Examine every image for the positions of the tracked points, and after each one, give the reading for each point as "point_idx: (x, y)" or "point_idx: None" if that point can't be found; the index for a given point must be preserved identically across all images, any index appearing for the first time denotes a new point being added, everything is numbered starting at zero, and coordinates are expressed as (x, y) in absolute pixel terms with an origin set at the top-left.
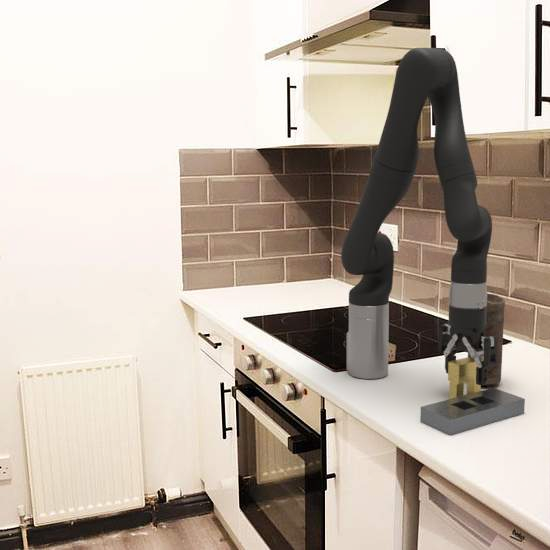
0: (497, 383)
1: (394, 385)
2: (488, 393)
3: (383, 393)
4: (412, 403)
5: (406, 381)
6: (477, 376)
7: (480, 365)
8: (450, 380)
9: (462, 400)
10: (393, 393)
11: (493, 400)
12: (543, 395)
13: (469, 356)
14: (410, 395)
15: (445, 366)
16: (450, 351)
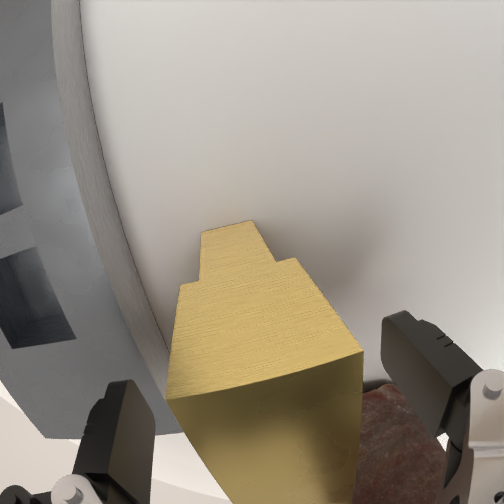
0: None
1: (491, 121)
2: (109, 382)
3: (440, 23)
4: (298, 33)
5: (501, 190)
6: (105, 417)
7: (61, 491)
8: (269, 266)
9: (28, 198)
10: (433, 52)
11: (22, 347)
12: (197, 489)
13: (428, 461)
14: (395, 94)
15: (436, 331)
16: (468, 442)
